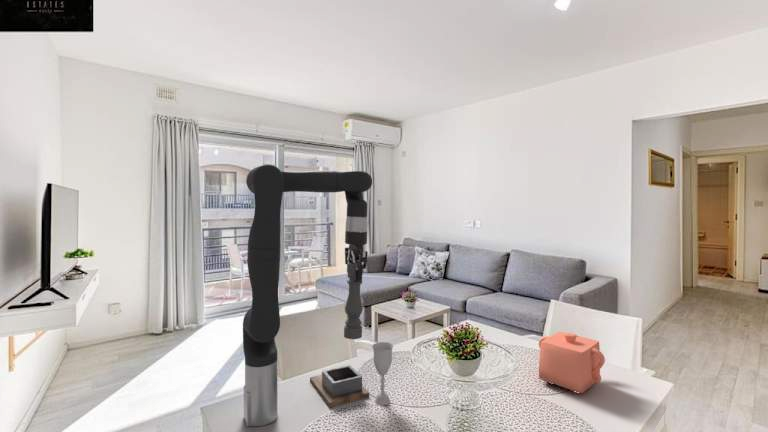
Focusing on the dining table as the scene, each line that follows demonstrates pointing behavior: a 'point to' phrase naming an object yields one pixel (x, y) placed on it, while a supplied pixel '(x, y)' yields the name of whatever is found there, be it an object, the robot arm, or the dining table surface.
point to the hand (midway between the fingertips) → (354, 279)
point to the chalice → (382, 367)
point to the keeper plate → (331, 402)
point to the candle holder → (353, 306)
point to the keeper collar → (341, 381)
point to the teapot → (570, 361)
